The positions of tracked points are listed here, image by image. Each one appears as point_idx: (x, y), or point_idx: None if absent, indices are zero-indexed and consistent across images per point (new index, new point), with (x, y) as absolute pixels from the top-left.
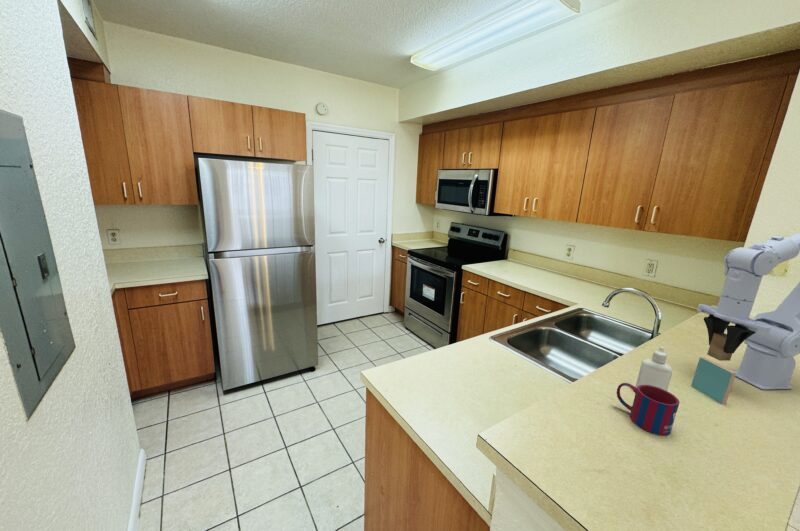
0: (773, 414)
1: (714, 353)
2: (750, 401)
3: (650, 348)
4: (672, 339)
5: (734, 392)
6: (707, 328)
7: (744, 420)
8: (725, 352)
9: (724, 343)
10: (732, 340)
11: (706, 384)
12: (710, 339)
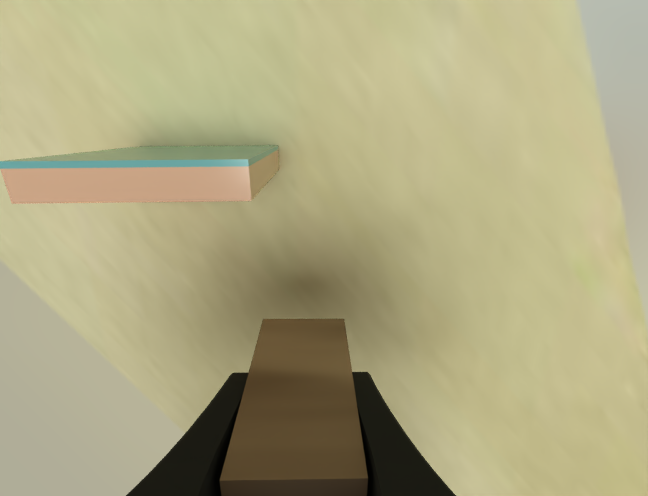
0: (102, 299)
1: (303, 337)
2: (178, 300)
3: (606, 276)
4: (631, 449)
5: (236, 301)
6: (446, 492)
7: (28, 127)
8: (239, 373)
9: (238, 421)
10: (144, 481)
11: (202, 148)
12: (366, 404)
